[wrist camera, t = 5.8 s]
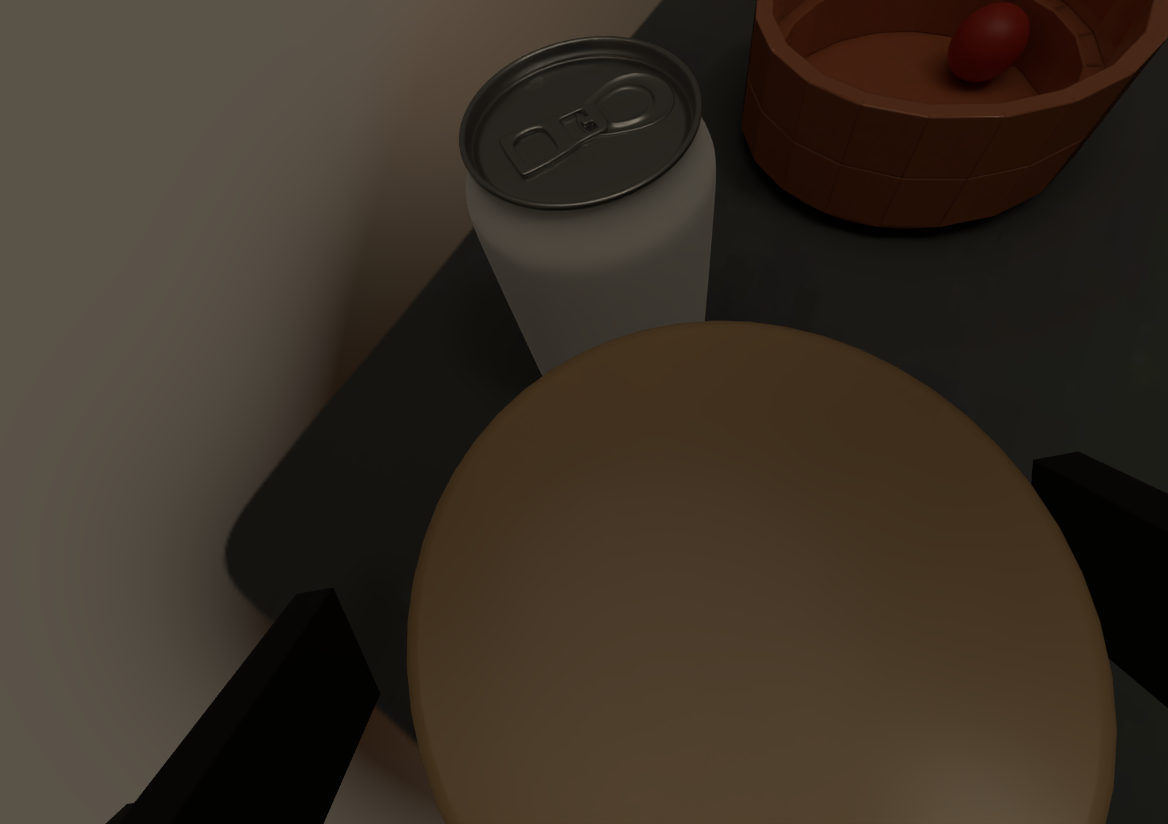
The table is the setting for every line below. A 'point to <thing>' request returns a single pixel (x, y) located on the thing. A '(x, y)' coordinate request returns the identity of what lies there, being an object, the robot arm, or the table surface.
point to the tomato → (988, 42)
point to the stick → (751, 603)
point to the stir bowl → (931, 103)
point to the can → (592, 191)
